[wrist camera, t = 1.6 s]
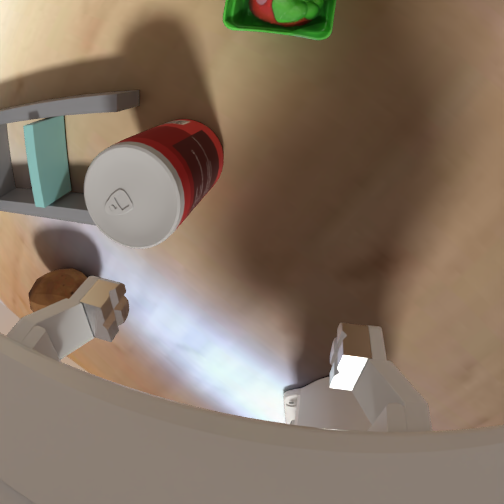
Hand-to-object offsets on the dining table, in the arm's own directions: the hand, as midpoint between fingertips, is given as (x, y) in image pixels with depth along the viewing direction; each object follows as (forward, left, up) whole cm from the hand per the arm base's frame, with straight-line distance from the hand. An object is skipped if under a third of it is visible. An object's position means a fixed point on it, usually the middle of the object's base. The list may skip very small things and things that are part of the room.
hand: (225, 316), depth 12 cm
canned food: (0, +9, -20) cm, 22 cm away
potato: (-19, +26, -20) cm, 38 cm away
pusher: (0, +25, -20) cm, 32 cm away
